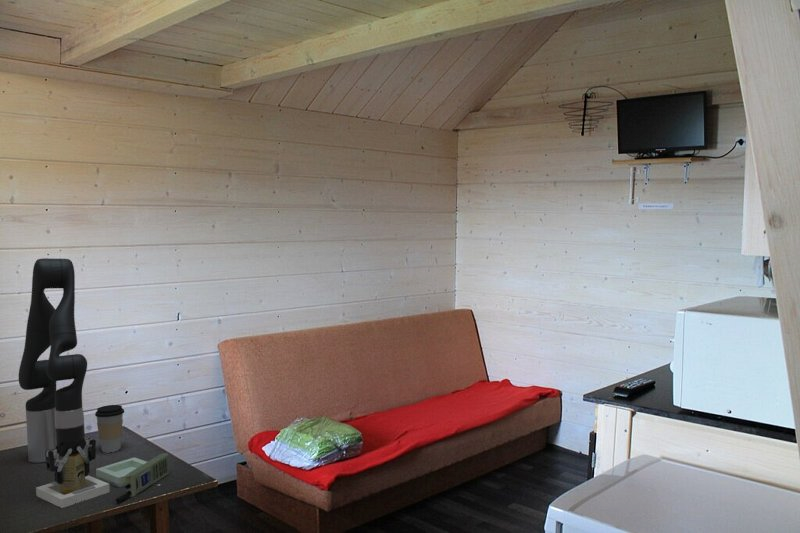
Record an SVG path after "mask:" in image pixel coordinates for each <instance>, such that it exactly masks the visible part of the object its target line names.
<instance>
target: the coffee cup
mask: <svg viewBox="0 0 800 533" xmlns="http://www.w3.org/2000/svg"><path fill="white" fill-rule="evenodd" d="M96 410H97V411H96V412H95V413H94V415H95V417H96V421H97V422H96V425H97V431H98V438H99V441H100V447H101V451H102V453H104V452H105V454H109V453H110V452H112V453H115V451H116V452H118V450H119V449H120V450H121V446H122V445H121V444H122V435H123V424H124V423H123V422H124V420H123V414H124V413H125V409H124V408H123V406H122V405H121V404H108V405H103V406H100V407H98V408H97V409H96ZM120 450H119V451H120ZM110 454H111V453H110Z"/></svg>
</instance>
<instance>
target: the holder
mask: <svg viewBox="0 0 800 533" xmlns="http://www.w3.org/2000/svg"><path fill="white" fill-rule="evenodd" d="M85 481H86V488H83V489H80V490H77V491H74V492H72V493H69V494H66V495H63V494H61V493H60V484H57V482H55V480H54V481H51V482H50V483H47V484H43V485H40V486H37V487H35V492H36V494H35V495H36V497H38V498H40V499H42V500H43V501H46V502H49V503H50V504H53V505H54V506H56V507H58V508H61V509H64V508H67V507H69V506H72V505H76V504H80V503H82V502H84V500H85V501H88V500H91V499H93V498H97V497H101V496H103V495H105V494H108V493H110V492H111V491H110V489H111V488H110V484H108V483H106V482H104V481H101V480H99V479H96V477H93V476H91V475H89V474H88V476H86V477H85ZM81 501H82V502H81ZM75 503H76V504H75Z"/></svg>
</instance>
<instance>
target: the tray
mask: <svg viewBox="0 0 800 533" xmlns="http://www.w3.org/2000/svg"><path fill="white" fill-rule="evenodd" d="M147 462H148V461H146V460H143V459H140V458H138V457H131V458H128V459H127V458H126V459H124V460H120V461H118V462H115V463H111V464H108V465H105V466H102V467H98V468H95V478H96V479H99V480H101V481H103V482H106V483H108V484H109V485H111V486H114V487H117V488H122V487H125V486H126V481H125V480H126V477H125V476H126V474H128V473H130V472H131V471H133V470H135V469H136V468H138V467H140V466H142V465H143V464H145V463H147Z"/></svg>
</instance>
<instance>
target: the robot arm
mask: <svg viewBox="0 0 800 533" xmlns="http://www.w3.org/2000/svg"><path fill="white" fill-rule="evenodd" d="M33 264H34V265H33V268H32V269H33V270H32V278H31V279H32V281H31V297H30V299H31V300H30V306H29V311H28V316H27V323H26V331H25V341H24V348H23V354H22V357H21V360H20V365H19V369H18V385H19V386H20V388H21V389H22V390H24V391H32V390H38V389H42V390H41V391H40V392H39V393H38V394H36V395H35V396H33V397H31V398H30V399H27V400H26V401H25V419H26V438H27V439H26V440H27V456H28V457H27V460H28V462H30V463H46V464H45V466H46V470H47V471H50V472H51V473H53V474H54V481H55V482H57V484H63V476H62V471H61V470H62V468H63V466H64V464H66V462H67V459H68V456H69V455H73V454H77V453H81V452H82V453H81V456H82V458H83V460H84V461H85V477H86V476H88V475H89V474H90V471H91V470H90V463H91V461H94V460H96V458H97V457H96V455H97V454H96V453H97V452H96V451H97V447H96V446H97V444H96V443H97V442H96V439H95V438H88V439H85V436H86V434H85V433H86V432H85V413H84V408H83V387H84V381H85V378H86V373H87V370H88V360H87V358H86V357H85V356H84V355H83V354H81V353H74V354H65V355H61V354H63V353H65V352H69V351H71V350H73V349H76V347H77V345H78V337H77V328H76V322H75V320H76V319H75V306H76V305H75V303H76V300H75V299H76V292H75V289H76V288H75V284H76V281H75V280H76V278H75V276H76V275H75V267H74V264H73V262H72V260H71V259H69V258H48V257H47V258H46V257H45V258H44V257H43V258H38V259H36V261H35V262H34V263H33ZM46 289H62V290H63V293H62V297H61V299H60V301H59V303H58V305H57V306H56V308H55V307H54V306H53V305H52V303H51V302H50V301H49V298H48V297H47V296H46V293H45V290H46ZM49 348H50V349H49ZM48 349H49V350H50V351H49V357H48V359H41V360H39V358H40V357H41V356H42V354H44V352H47V350H48ZM68 380H72V382H71V383H70V384H69V385H66V386H63V387H60V388H58V389H57V382H59V381H68ZM85 447H87V454H86V452H85V451H84V449H85ZM58 456H62V457H63V459H62V460H59V458H58Z"/></svg>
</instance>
